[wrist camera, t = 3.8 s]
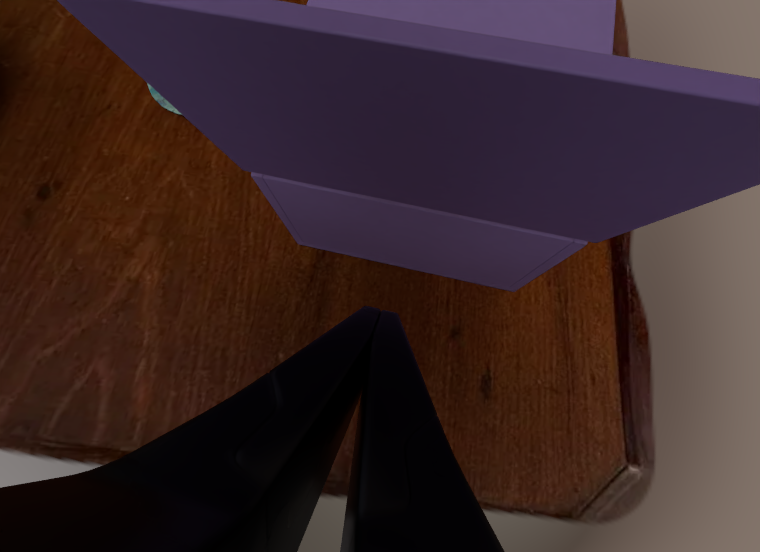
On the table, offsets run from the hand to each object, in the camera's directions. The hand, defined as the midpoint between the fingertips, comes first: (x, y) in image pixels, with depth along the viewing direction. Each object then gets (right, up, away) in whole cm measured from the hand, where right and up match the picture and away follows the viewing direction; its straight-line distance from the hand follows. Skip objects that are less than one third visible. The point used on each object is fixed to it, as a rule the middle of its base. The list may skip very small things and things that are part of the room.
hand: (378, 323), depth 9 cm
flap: (+1, +4, 0) cm, 5 cm away
